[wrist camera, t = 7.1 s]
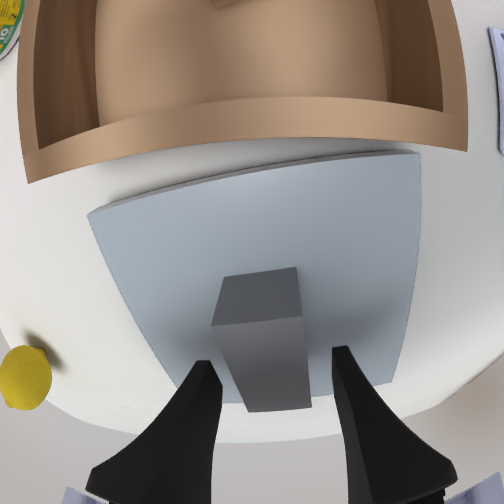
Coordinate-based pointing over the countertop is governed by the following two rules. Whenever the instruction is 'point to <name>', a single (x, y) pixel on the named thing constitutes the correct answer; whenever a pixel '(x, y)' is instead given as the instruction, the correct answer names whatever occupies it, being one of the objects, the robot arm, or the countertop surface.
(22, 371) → the lemon
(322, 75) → the box
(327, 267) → the lid
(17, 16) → the supplement bottle
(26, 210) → the countertop surface
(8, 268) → the countertop surface
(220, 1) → the block
